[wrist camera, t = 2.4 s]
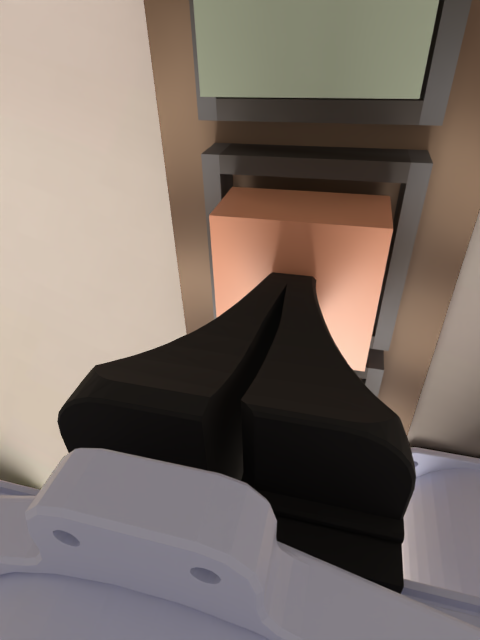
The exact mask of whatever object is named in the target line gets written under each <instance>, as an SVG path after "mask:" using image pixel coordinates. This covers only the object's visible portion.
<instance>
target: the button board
mask: <svg viewBox="0 0 480 640" xmlns="http://www.w3.org/2000/svg"><path fill="white" fill-rule="evenodd" d="M144 6H145V14H146V22H147V30H148V37H149V45H150V53H151V61H152V68H153V76H154V84H155V92H156V100H157V107H158V115H159V123H160V131H161V138H162V146H163V154H164V162H165V169H166V177H167V185H168V193H169V200H170V208H171V216H172V224H173V231H174V239H175V247H176V255H177V262H178V270H179V278H180V286H181V293H182V301H183V309H184V317H185V324H186V332H187V334H189V333H191V332H193V331H195V330H197V329H199V328H201V327H202V326H204V325H206V324H208V323H209V322H211V321H212V320H214V319H216V318H217V317H216V303H215V289H214V276H213V262H212V249H211V235H210V222H209V215H210V214H211V212H212V211H213V210H214V209H215V207H216V206H217V205H218V204H219V202H220V201H221V200H222V199H223V197H224V196H225V195H226V194H227V193H228V191H229V190H230V189H231V188H232V187H245V188H263V189H280V190H297V191H315V192H332V193H349V194H367V195H384V196H390V199H391V210H392V221H393V233H392V238H391V243H390V248H389V253H388V258H387V263H386V268H385V273H384V278H383V283H382V288H381V293H380V297H379V302H378V307H377V312H376V317H375V322H374V327H373V332H372V337H371V342H370V347H369V352H368V357H367V362H366V367H365V372H364V371H358V370H353V371H354V372H355V373H356V374H357V376H358V377H359V378H360V379H361V381H362V382H363V383H364V384H365V385H366V387H367V388H368V389H369V390H370V391H371V392H372V393H373V394H374V395H375V396H376V397H378V398H379V399H380V400H381V401H382V402H383V403H384V404H386V405H387V406H388V407H389V408H390V409H391V410H393V411H394V412H395V413H396V414H397V415H398V416H399V417H400V419H401V422H402V424H403V427H404V430H405V432H406V435H407V434H408V431H409V428H410V425H411V422H412V419H413V416H414V413H415V410H416V406H417V403H418V400H419V397H420V394H421V391H422V388H423V385H424V381H425V378H426V375H427V372H428V369H429V366H430V363H431V360H432V357H433V353H434V350H435V347H436V344H437V341H438V338H439V335H440V332H441V329H442V325H443V322H444V319H445V316H446V313H447V310H448V307H449V304H450V301H451V297H452V294H453V291H454V288H455V285H456V282H457V279H458V276H459V273H460V269H461V266H462V263H463V260H464V257H465V254H466V251H467V248H468V244H469V241H470V238H471V235H472V232H473V229H474V226H475V223H476V220H477V216H478V213H479V210H480V0H439V4H438V9H437V14H436V19H435V24H434V29H433V34H432V39H431V44H430V49H429V54H428V59H427V64H426V69H425V74H424V79H423V83H422V88H421V93H420V98H419V99H373V98H268V97H200V86H199V72H198V59H197V45H196V31H195V18H194V4H193V0H144Z"/></svg>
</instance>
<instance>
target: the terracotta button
mask: <svg viewBox="0 0 480 640" xmlns="http://www.w3.org/2000/svg"><path fill="white" fill-rule="evenodd" d="M209 222H210V235H211V249H212V262H213V276H214V289H215V303H216V317H219V316H220V315H221V314H223V313H224V312H225V311H227V310H228V309H229V308H231V307H232V306H234V305H235V304H236V303H237V302H238V301H240V300H241V299H242V298H243V297H244V296H246V295H247V294H248V293H249V292H250V291H251V290H253V289H254V288H255V287H256V286H257V285H258V284H259V283H260V282H261V281H262V280H263V279H265V278H266V277H267V276H268V275H269V274H270V273H272V272H274V273H284V274H294V275H304V276H313V277H314V278H315V279H316V293H317V298H318V302H319V306H320V309H321V312H322V315H323V318H324V320H325V323H326V325H327V327H328V330H329V332H330V334H331V336H332V338H333V340H334V342H335V344H336V345H337V347H338V349H339V350H340V352H341V354H342V355H343V357H344V358H345V360H346V361H347V363H348V364H349V366H350V367H351V368H352V369H353V370H358V371H364V372H365V367H366V362H367V357H368V352H369V347H370V342H371V337H372V332H373V327H374V322H375V317H376V312H377V307H378V302H379V297H380V293H381V288H382V283H383V278H384V273H385V268H386V263H387V258H388V253H389V248H390V243H391V238H392V233H393V221H392V210H391V199H390V196H384V195H367V194H349V193H332V192H315V191H297V190H280V189H263V188H245V187H232V188H231V189H230V190H229V191H228V193H227V194H226V195H225V196H224V197H223V199H222V200H221V201H220V202H219V204H218V205H217V206H216V207H215V209H214V210H213V211H212V212H211V214H210V215H209Z"/></svg>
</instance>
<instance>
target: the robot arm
mask: <svg viewBox="0 0 480 640" xmlns="http://www.w3.org/2000/svg"><path fill="white" fill-rule="evenodd" d="M58 425H59V429H60V433H61V436H62V438H63V440H64V443H65V445H66V447H67V450H68V452H69V454H67V455H66V456H64V457H63V458H62V459H61V461H60V462H59V464H58V465H57V467H56V468H55V470H54V471H53V472H52V474H51V475H50V477H49V478H48V480H47V481H46V483H45V484H44V485H43V487H42V488H41V490H39V489H35V488H31V487H27V486H23V485H19V484H15V483H11V482H7V481H3V480H0V640H480V458H474V457H468V456H463V455H457V454H452V453H446V452H441V451H435V450H429V449H424V448H418V447H410V445H409V441H408V438H407V435H406V432H405V430H404V427H403V424H402V422H401V419H400V417H399V416H398V415H397V414H396V413H395V412H394V411H393V410H391V409H390V408H389V407H388V406H387V405H386V404H384V403H383V402H382V401H381V400H380V399H379V398H378V397H376V396H375V395H374V394H373V393H372V392H371V391H370V390H369V389H368V388H367V387H366V385H365V384H364V383H363V382H362V381H361V379H360V378H359V377H358V376H357V374H356V373H355V372H354V371H353V369H352V368H351V367H350V366H349V364H348V363H347V361H346V360H345V358H344V357H343V355H342V354H341V352H340V350H339V349H338V347H337V345H336V344H335V342H334V340H333V338H332V336H331V334H330V332H329V330H328V327H327V325H326V323H325V320H324V318H323V315H322V312H321V309H320V306H319V302H318V298H317V293H316V279H315V278H314V277H313V276H304V275H294V274H284V273H274V272H272V273H270V274H269V275H268V276H267V277H266V278H265V279H263V280H262V281H261V282H260V283H259V284H258V285H257V286H256V287H255V288H254V289H253V290H251V291H250V292H249V293H248V294H247V295H246V296H244V297H243V298H242V299H241V300H240V301H238V302H237V303H236V304H235V305H234V306H232V307H231V308H229V309H228V310H227V311H225V312H224V313H223V314H221V315H220V316H219V317H217V318H216V319H214V320H212V321H211V322H209V323H208V324H206V325H204V326H202V327H201V328H199V329H197V330H195V331H193V332H191V333H189V334H187V335H185V336H183V337H181V338H178V339H176V340H174V341H172V342H170V343H168V344H165V345H163V346H160V347H157V348H155V349H152V350H149V351H146V352H143V353H140V354H137V355H134V356H131V357H127V358H123V359H119V360H116V361H112V362H108V363H104V364H100V365H95V367H94V368H93V369H92V370H91V371H90V372H89V373H88V375H87V376H86V377H85V378H84V379H83V381H82V382H81V383H80V385H79V386H78V387H77V388H76V390H75V391H74V392H73V394H72V395H71V396H70V398H69V399H68V400H67V401H66V403H65V404H64V405H63V407H62V408H61V410H60V411H59V414H58Z"/></svg>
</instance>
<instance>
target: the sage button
mask: <svg viewBox="0 0 480 640" xmlns="http://www.w3.org/2000/svg"><path fill="white" fill-rule="evenodd" d="M193 4H194V18H195V31H196V45H197V59H198V72H199V86H200V97H268V98H373V99H419V98H420V93H421V88H422V83H423V79H424V74H425V69H426V64H427V59H428V54H429V49H430V44H431V39H432V34H433V29H434V24H435V19H436V14H437V9H438V4H439V0H193Z"/></svg>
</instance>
